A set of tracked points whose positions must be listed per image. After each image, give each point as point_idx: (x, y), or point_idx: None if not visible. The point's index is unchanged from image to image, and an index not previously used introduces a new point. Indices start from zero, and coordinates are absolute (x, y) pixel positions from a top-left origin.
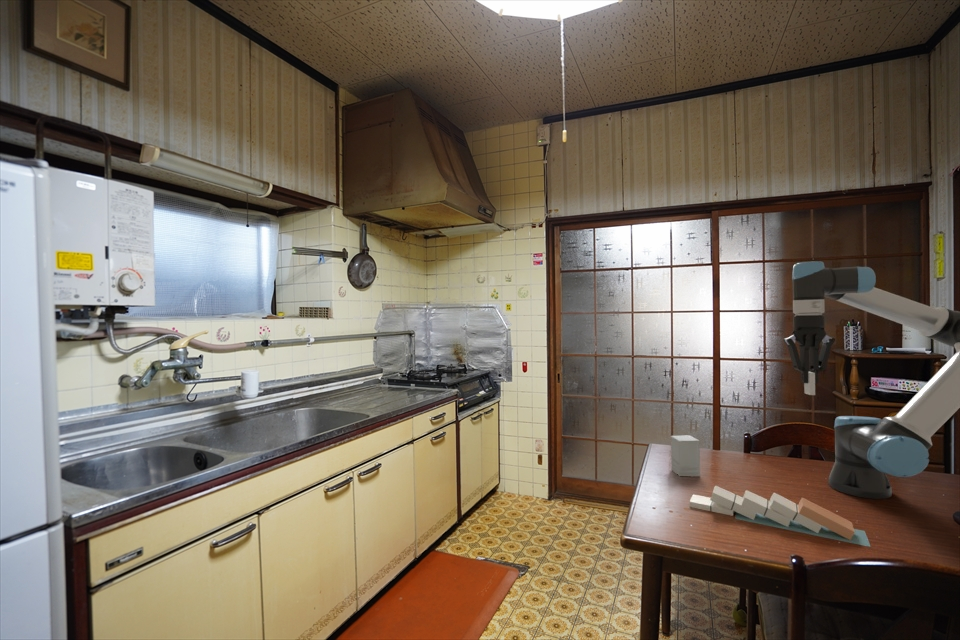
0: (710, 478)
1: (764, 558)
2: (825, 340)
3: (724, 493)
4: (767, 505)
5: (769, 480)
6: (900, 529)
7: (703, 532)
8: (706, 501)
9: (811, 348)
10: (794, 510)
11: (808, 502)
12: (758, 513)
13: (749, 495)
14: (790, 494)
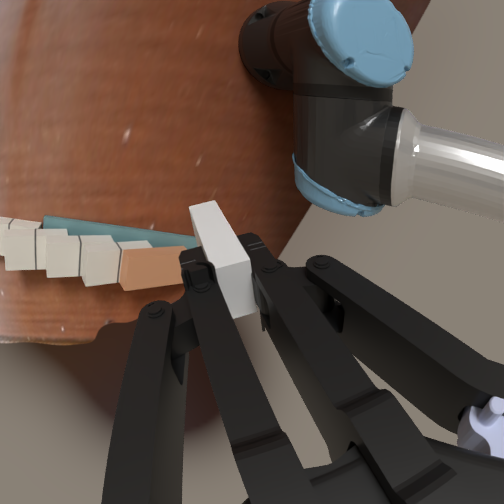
0: (11, 74)
1: (80, 338)
2: (469, 443)
3: (20, 253)
4: (79, 266)
5: (126, 34)
6: (261, 204)
7: (18, 306)
8: (2, 242)
9: (334, 434)
10: (114, 280)
11: (135, 266)
12: (71, 234)
13: (53, 260)
14: (143, 104)
